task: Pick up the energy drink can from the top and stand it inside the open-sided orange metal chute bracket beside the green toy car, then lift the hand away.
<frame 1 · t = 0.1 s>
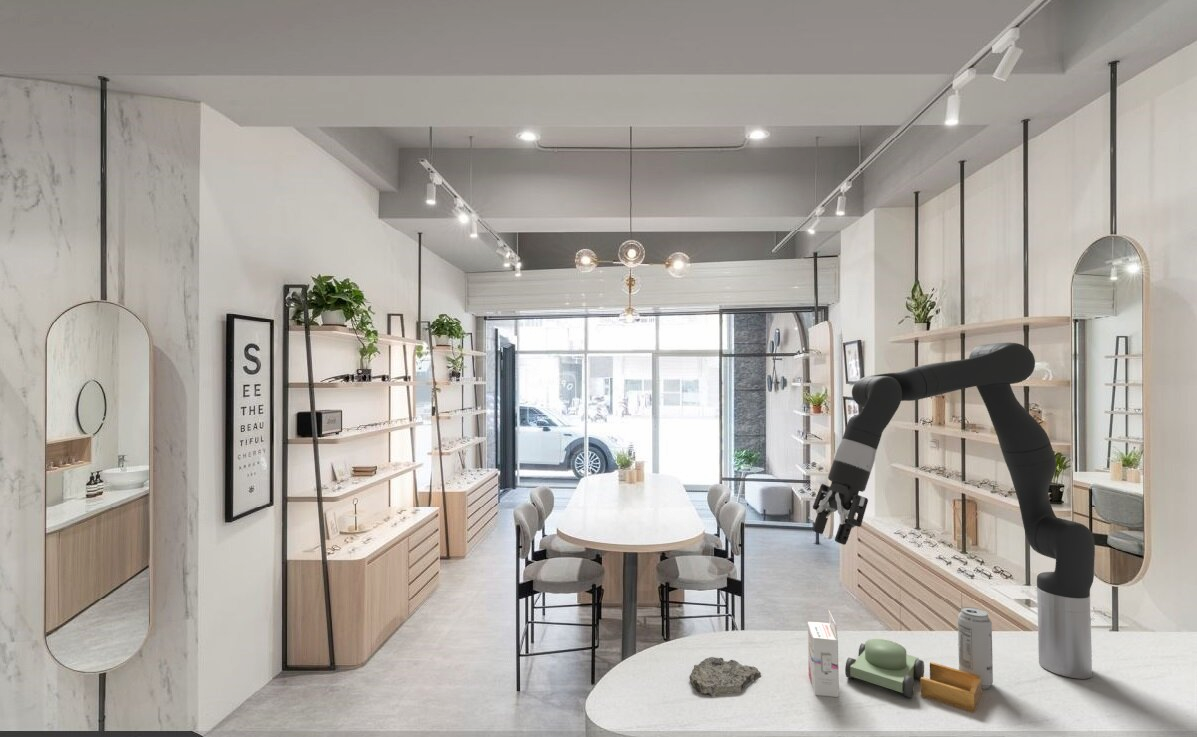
hand: (828, 537, 119), 31 cm above the table, tool tilted 20°, fingers open, 8 cm apart
green toy car: (885, 678, 122), on the table
chute bracket: (951, 694, 116), on the table
energy drink can: (975, 683, 121), on the table
stone slab: (722, 683, 121), on the table
ink cartridge box: (822, 687, 119), on the table
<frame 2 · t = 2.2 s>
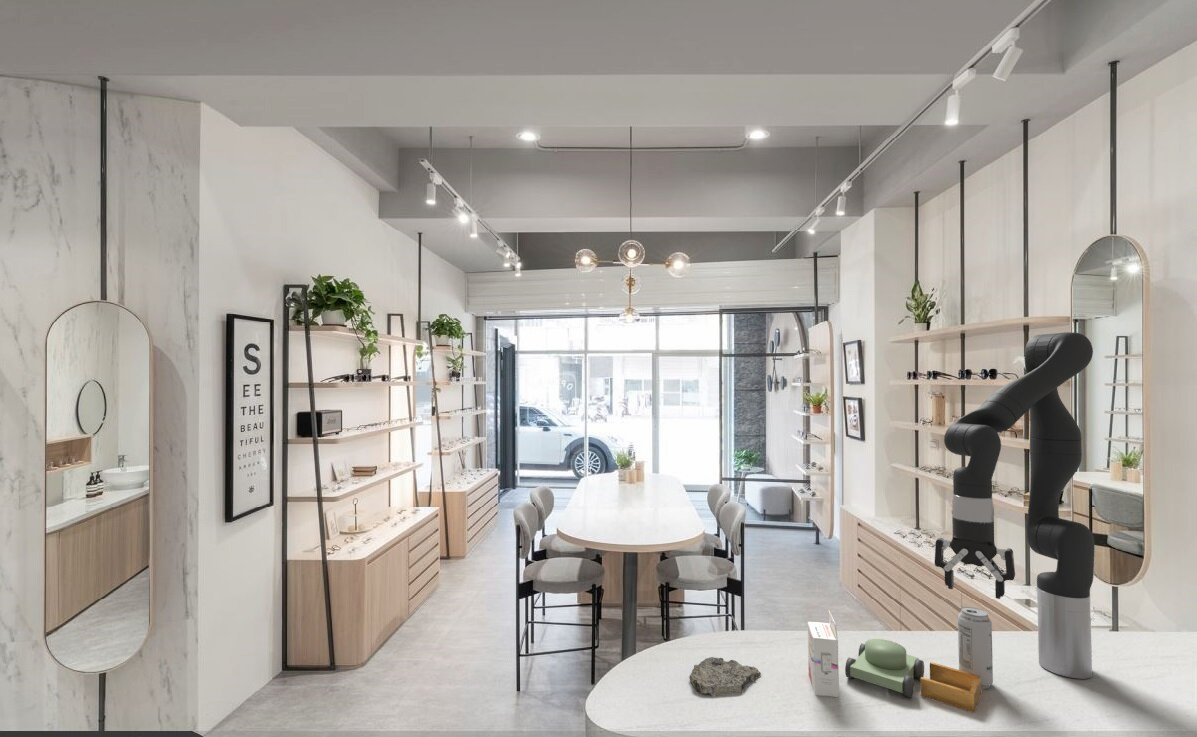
hand: (973, 592, 121), 19 cm above the table, tool pointing down, fingers open, 8 cm apart
nothing on the table moved.
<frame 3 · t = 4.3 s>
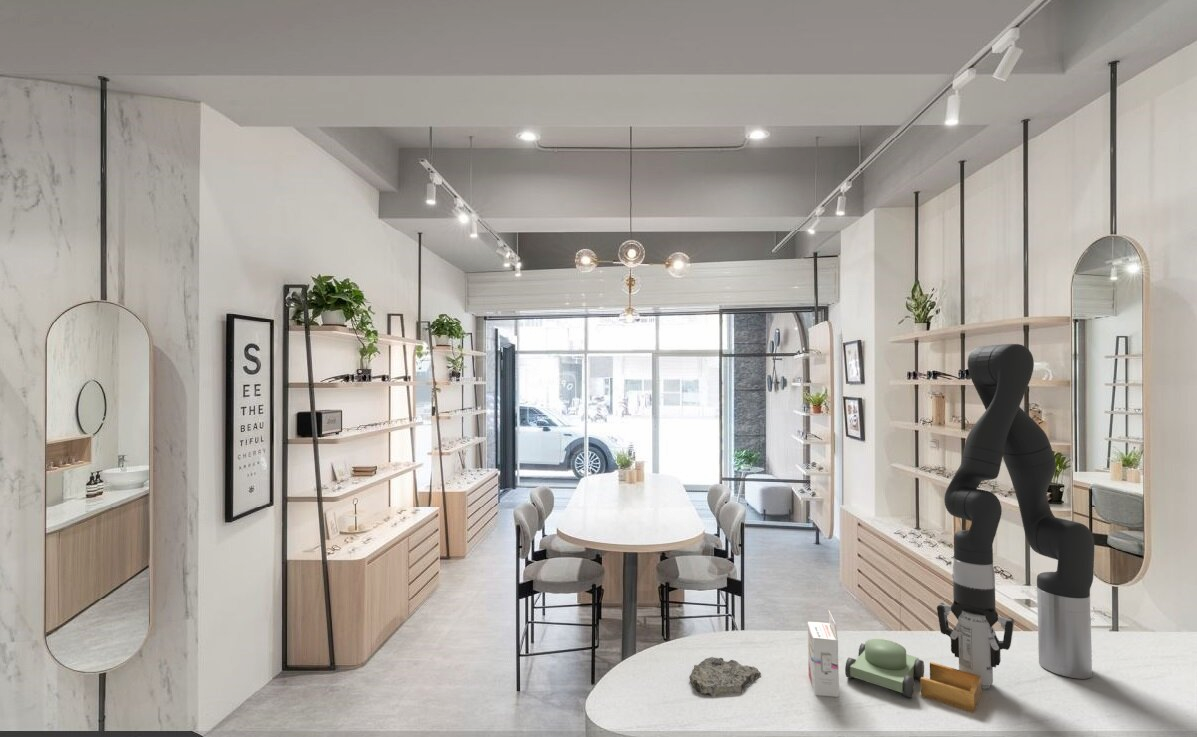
hand: (975, 660, 121), 5 cm above the table, tool pointing down, fingers closed on energy drink can, 6 cm apart
energy drink can: (975, 683, 121), on the table, touching gripper
everything else where it was.
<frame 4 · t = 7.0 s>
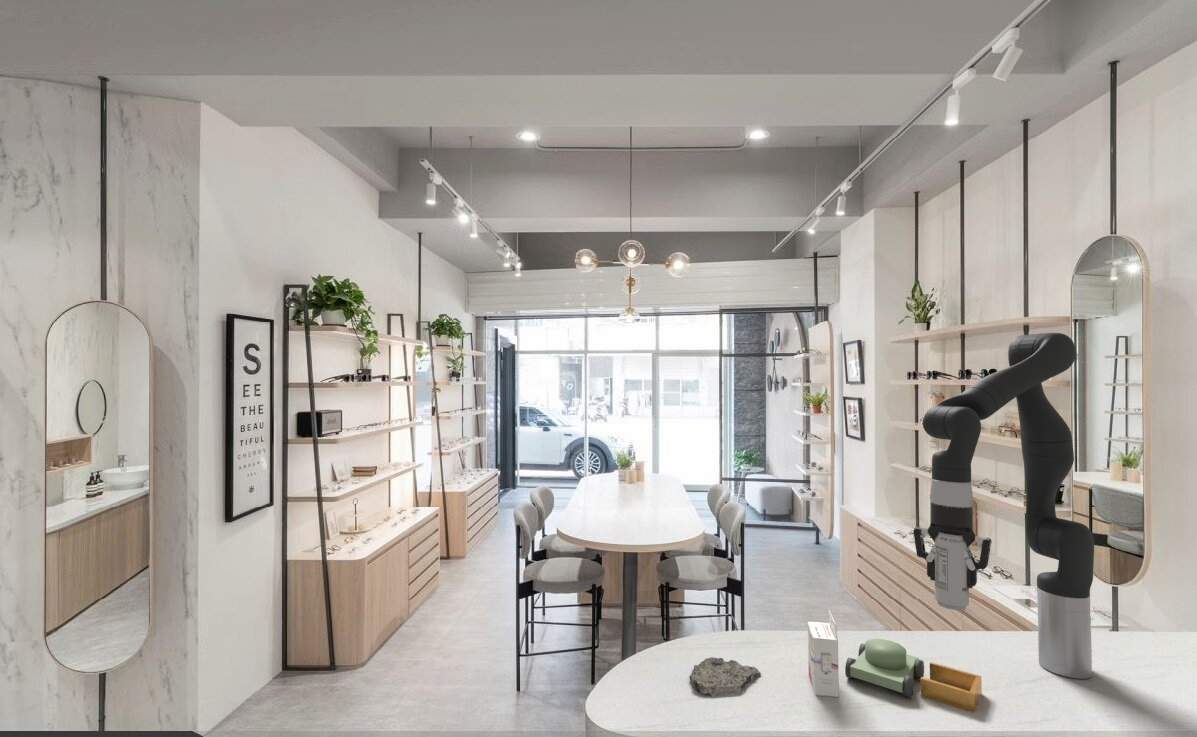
hand: (951, 583, 117), 22 cm above the table, tool pointing down, fingers closed on energy drink can, 6 cm apart
energy drink can: (951, 606, 117), point 17 cm above the table, touching gripper
everything else where it was.
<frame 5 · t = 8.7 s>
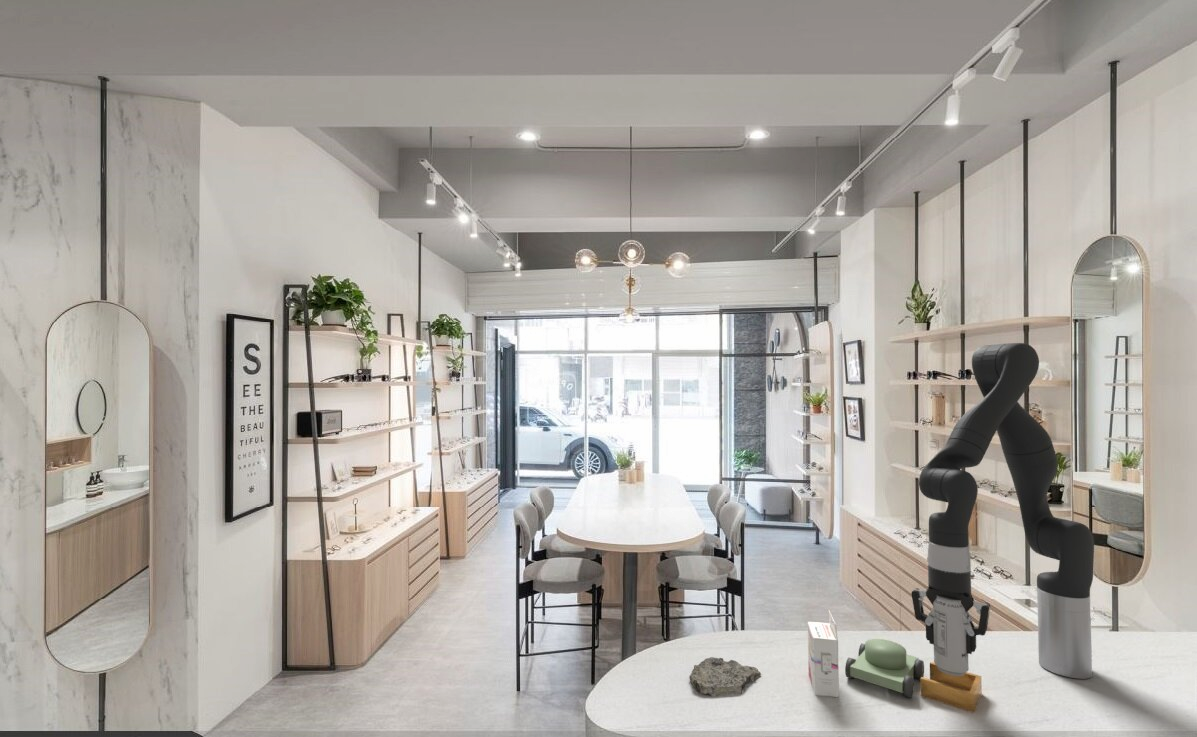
hand: (950, 647, 116), 10 cm above the table, tool pointing down, fingers closed on energy drink can, 6 cm apart
energy drink can: (951, 671, 116), point 5 cm above the table, touching gripper
everything else where it was.
when the fingers open (6 cm above the table, at t = 10.0 s): energy drink can drops 1 cm, resting in chute bracket.
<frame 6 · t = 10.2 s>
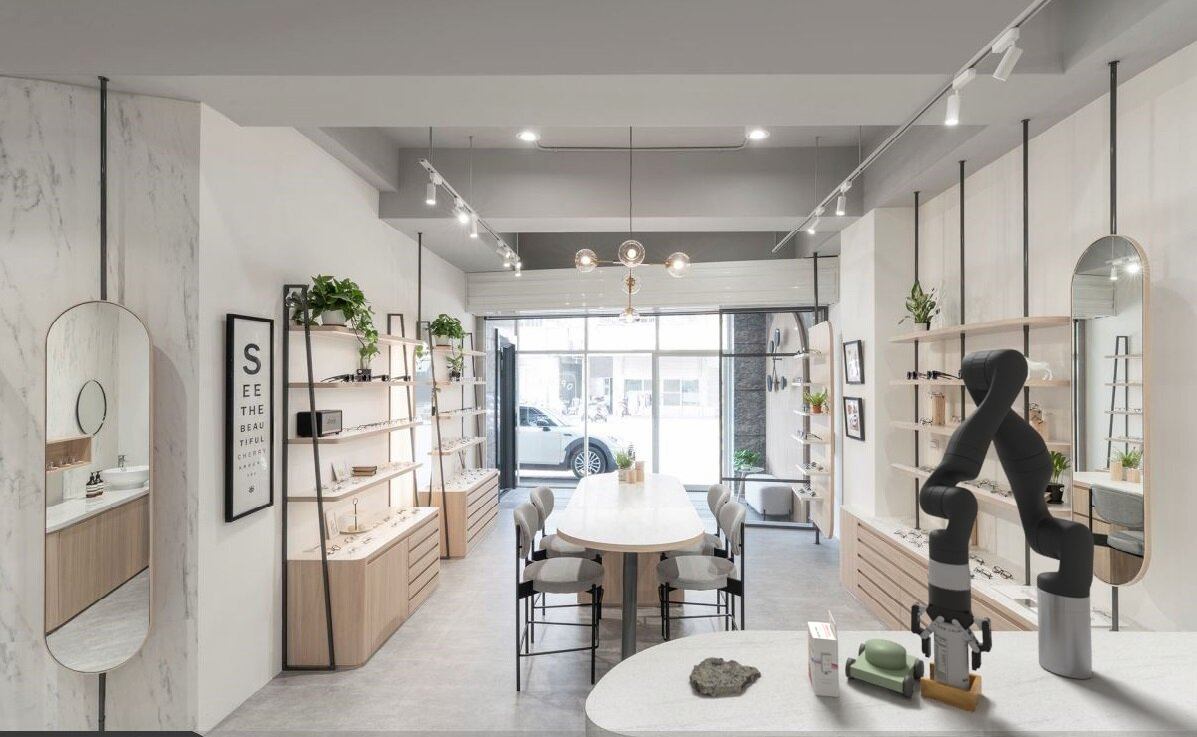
hand: (950, 662, 116), 6 cm above the table, tool pointing down, fingers open, 8 cm apart
energy drink can: (951, 695, 116), resting in chute bracket
everything else where it was.
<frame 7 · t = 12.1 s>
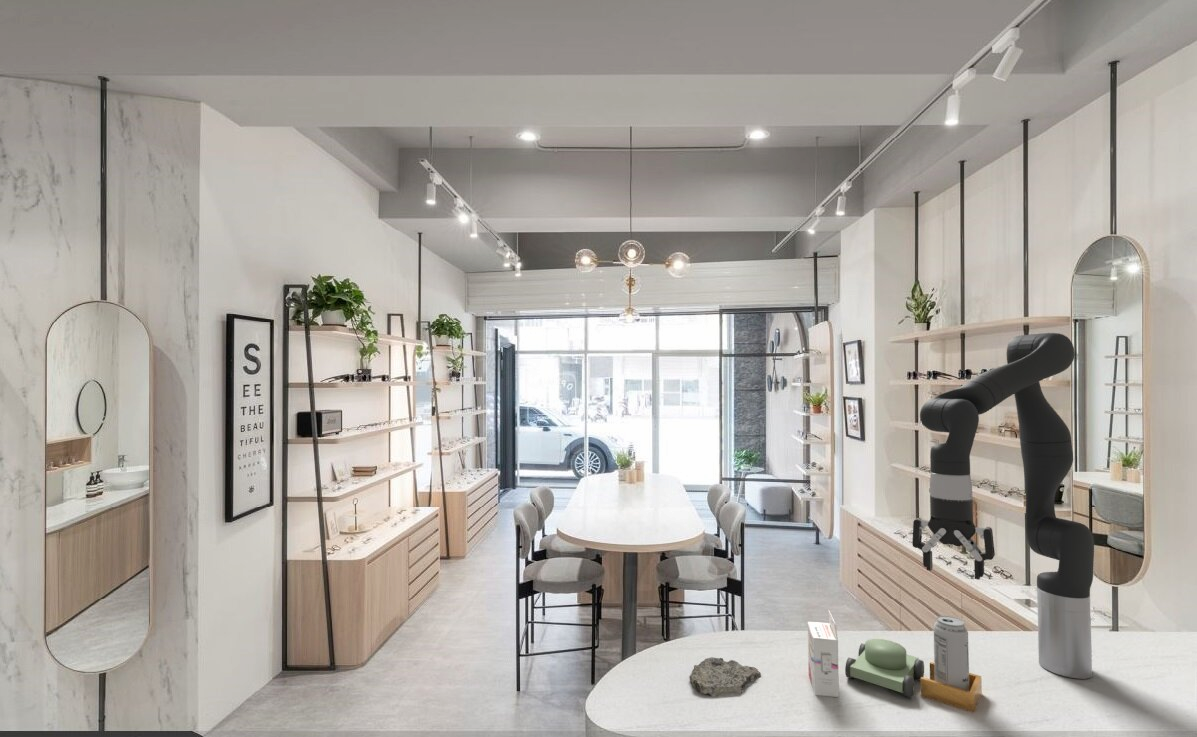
hand: (952, 573, 117), 24 cm above the table, tool pointing down, fingers open, 8 cm apart
nothing on the table moved.
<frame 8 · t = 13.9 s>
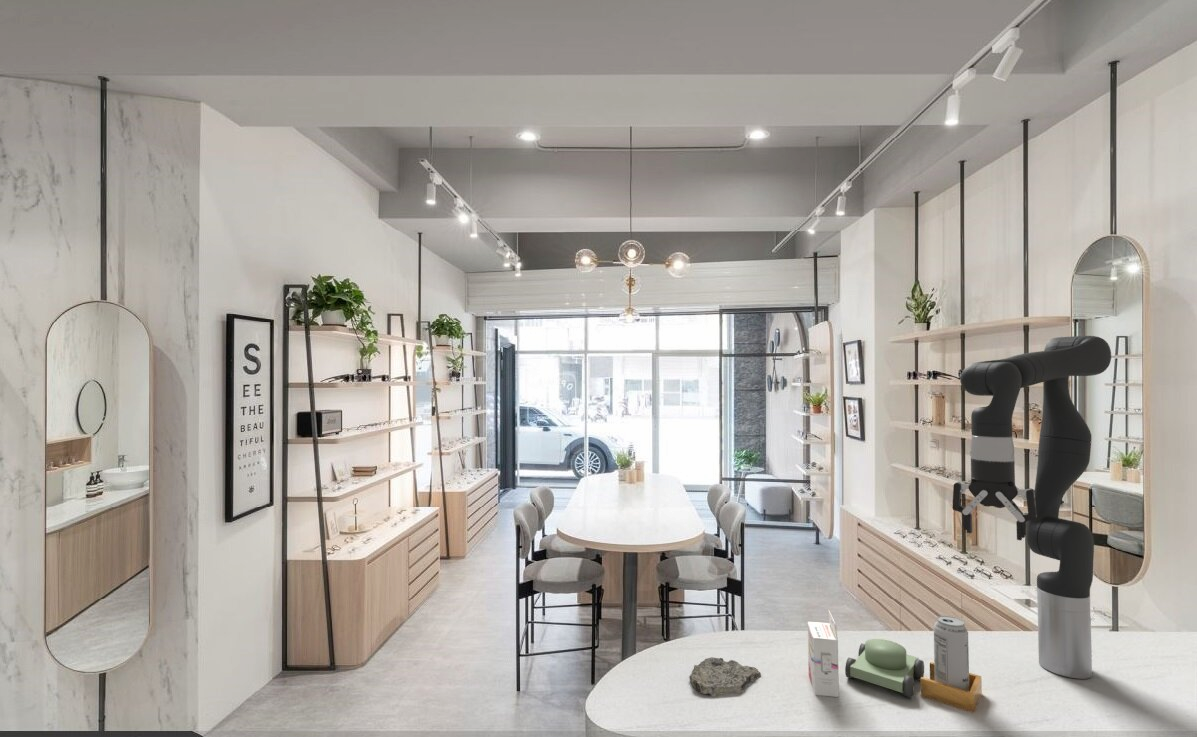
hand: (993, 535, 117), 32 cm above the table, tool pointing down, fingers open, 8 cm apart
nothing on the table moved.
at the end: energy drink can 0.1 cm off-centre on the chute bracket, point 0.0 cm above the chute bracket's base; energy drink can tilted 0°; the gripper is holding nothing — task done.
